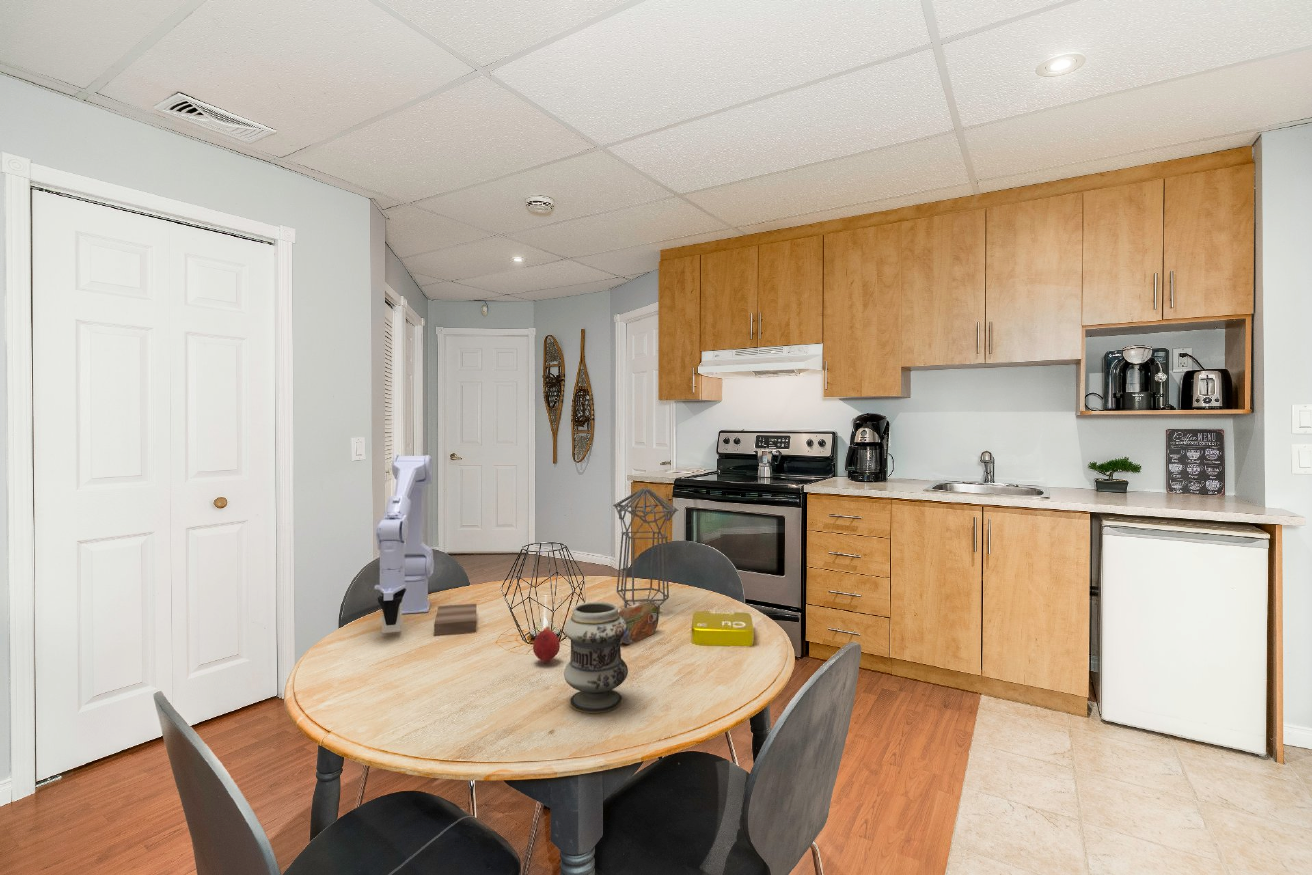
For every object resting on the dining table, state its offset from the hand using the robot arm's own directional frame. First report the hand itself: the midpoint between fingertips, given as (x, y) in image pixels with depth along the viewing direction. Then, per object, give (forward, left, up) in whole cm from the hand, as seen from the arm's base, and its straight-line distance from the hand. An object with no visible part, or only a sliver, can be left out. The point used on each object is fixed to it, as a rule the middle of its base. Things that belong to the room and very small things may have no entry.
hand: (392, 621), depth 152 cm
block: (0, 0, -2) cm, 2 cm away
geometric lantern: (-4, +66, -4) cm, 66 cm away
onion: (+28, +35, -4) cm, 45 cm away
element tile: (+22, +79, -4) cm, 82 cm away
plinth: (-5, +15, -4) cm, 16 cm away
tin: (+18, +58, -4) cm, 61 cm away
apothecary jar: (+50, +42, -4) cm, 65 cm away
